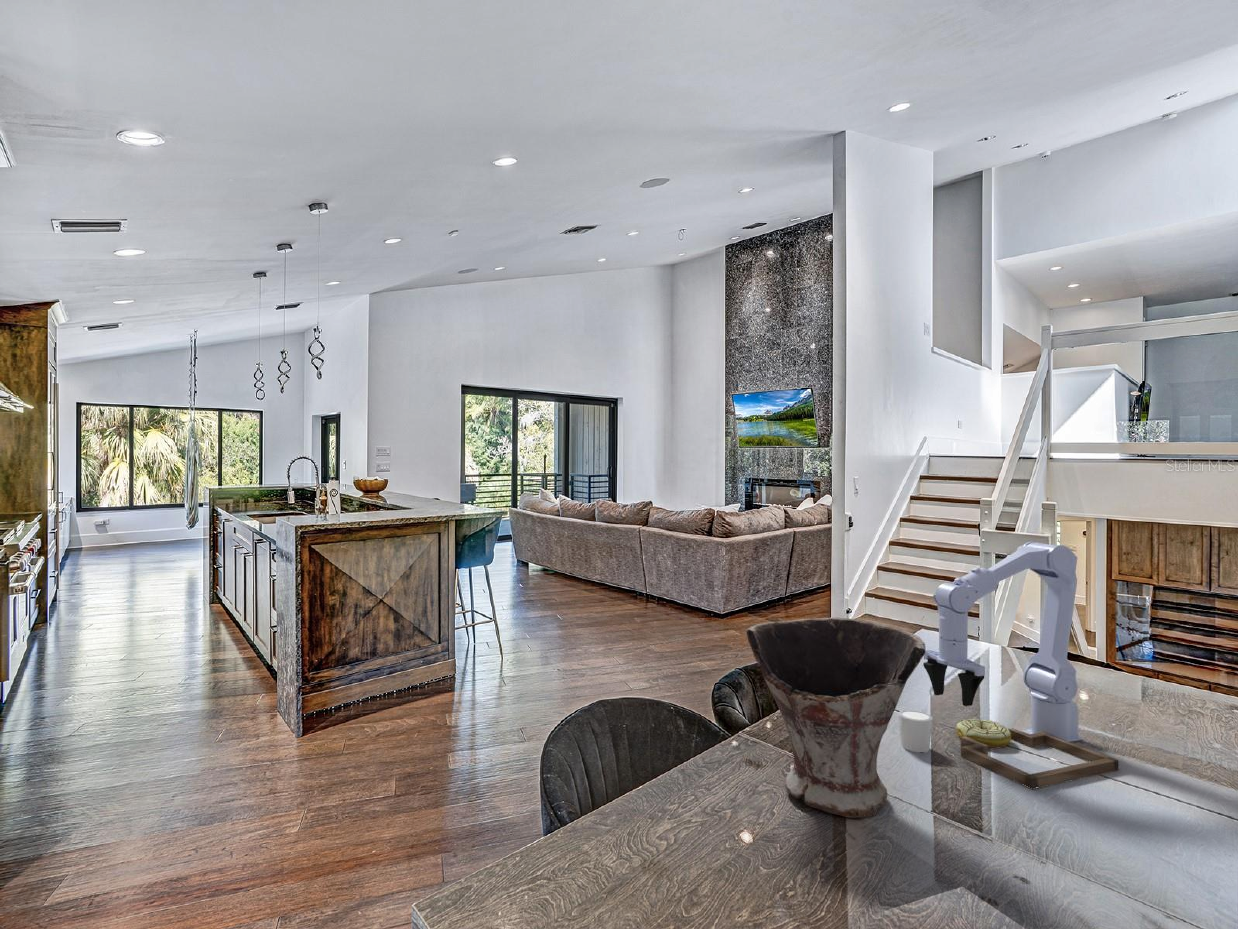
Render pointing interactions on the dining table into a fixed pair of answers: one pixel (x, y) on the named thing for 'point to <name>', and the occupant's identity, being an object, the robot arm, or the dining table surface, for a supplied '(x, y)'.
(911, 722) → the white cylinder
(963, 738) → the frame
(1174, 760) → the dining table surface
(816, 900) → the dining table surface
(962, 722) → the decorated donut
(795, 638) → the vessel
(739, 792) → the dining table surface
